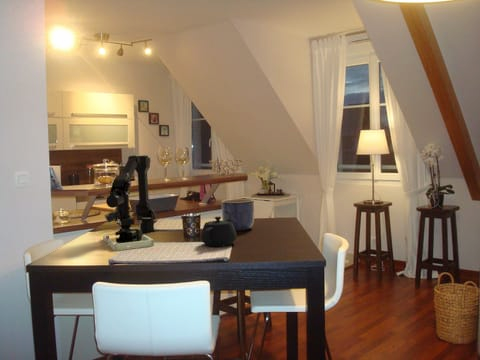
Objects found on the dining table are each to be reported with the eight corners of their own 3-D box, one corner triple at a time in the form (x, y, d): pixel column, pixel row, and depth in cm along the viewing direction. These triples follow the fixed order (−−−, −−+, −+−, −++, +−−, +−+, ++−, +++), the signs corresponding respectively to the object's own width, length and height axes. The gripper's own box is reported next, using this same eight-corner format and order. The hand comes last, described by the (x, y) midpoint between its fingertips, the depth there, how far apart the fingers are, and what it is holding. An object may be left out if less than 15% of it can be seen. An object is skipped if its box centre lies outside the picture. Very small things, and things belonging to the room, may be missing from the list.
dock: (136, 235, 238) (136, 229, 238) (141, 238, 229) (141, 232, 229) (103, 239, 231) (102, 233, 231) (106, 243, 222) (106, 236, 222)
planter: (217, 231, 240) (215, 202, 239) (230, 226, 256) (229, 198, 255) (247, 232, 234) (246, 202, 233) (259, 227, 250) (258, 198, 249)
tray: (144, 240, 225) (144, 234, 225) (153, 245, 211) (153, 239, 211) (107, 244, 218) (107, 239, 218) (114, 250, 204) (114, 244, 204)
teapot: (223, 251, 194) (222, 221, 194) (190, 249, 201) (188, 220, 200) (247, 239, 217) (246, 212, 216) (216, 238, 224) (215, 212, 223)
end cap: (142, 242, 219) (141, 228, 219) (134, 245, 213) (133, 230, 212) (124, 242, 223) (123, 227, 223) (115, 245, 216) (114, 230, 216)
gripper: (101, 204, 229) (103, 236, 230) (109, 208, 212) (111, 243, 213) (125, 202, 234) (127, 234, 235) (134, 206, 217) (135, 240, 218)
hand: (124, 237), depth 225 cm, fingers closed
